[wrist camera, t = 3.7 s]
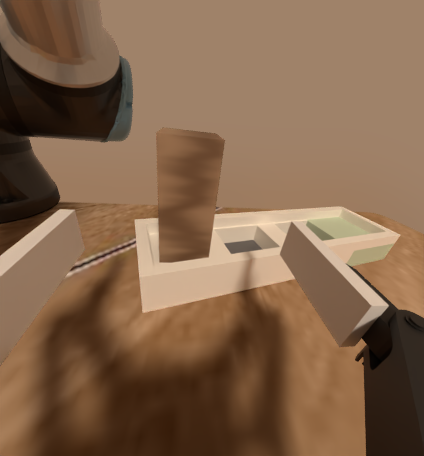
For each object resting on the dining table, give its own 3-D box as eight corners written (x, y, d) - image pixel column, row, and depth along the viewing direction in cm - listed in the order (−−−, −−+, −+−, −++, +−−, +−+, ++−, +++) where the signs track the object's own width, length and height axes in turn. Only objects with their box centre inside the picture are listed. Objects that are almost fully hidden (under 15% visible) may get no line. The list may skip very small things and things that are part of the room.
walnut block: (159, 262, 20) (156, 132, 14) (164, 235, 24) (163, 127, 18) (208, 263, 21) (224, 140, 15) (204, 237, 25) (216, 133, 19)
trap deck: (142, 312, 18) (139, 277, 16) (137, 249, 26) (134, 219, 24) (383, 258, 31) (400, 234, 29) (331, 227, 39) (341, 206, 37)
